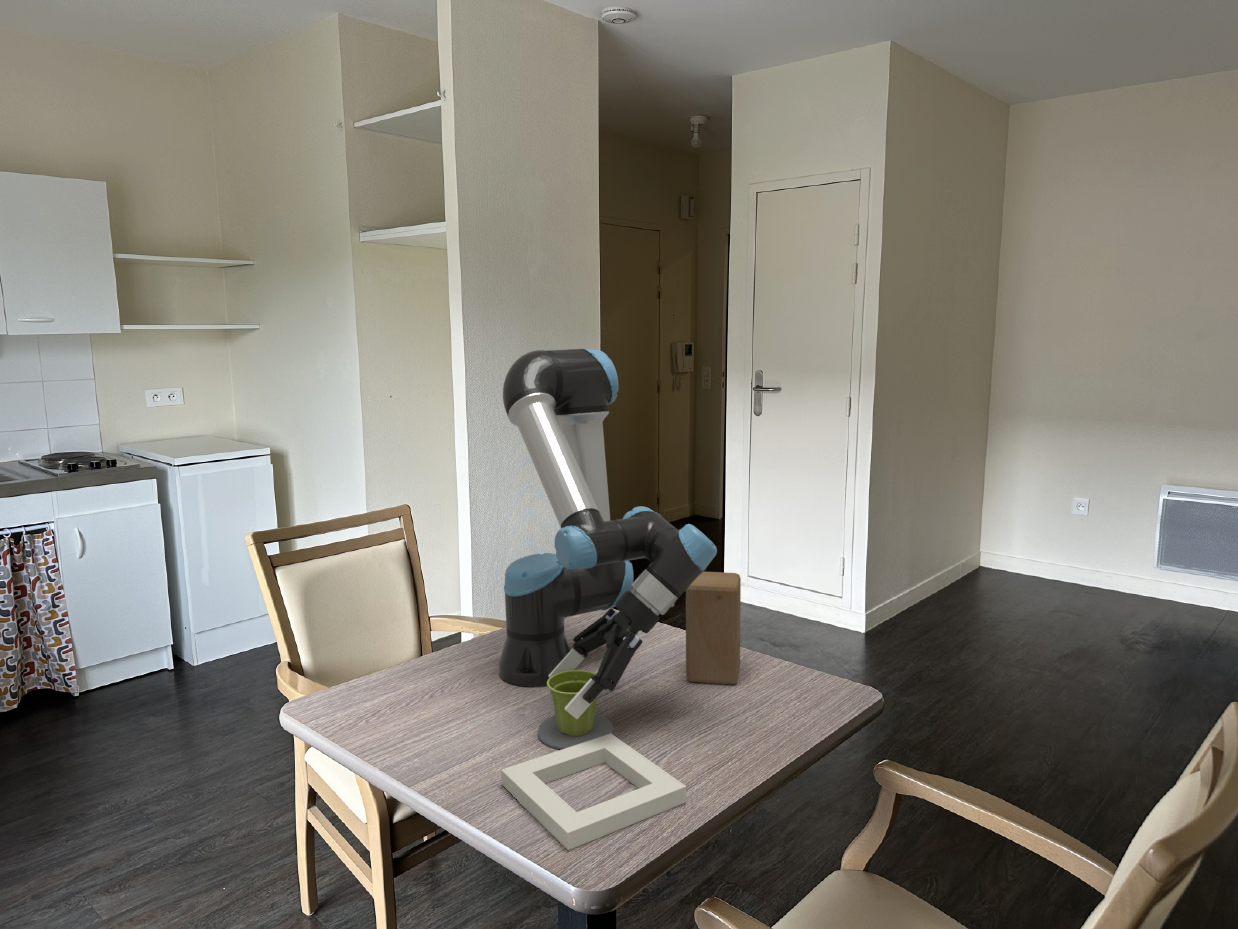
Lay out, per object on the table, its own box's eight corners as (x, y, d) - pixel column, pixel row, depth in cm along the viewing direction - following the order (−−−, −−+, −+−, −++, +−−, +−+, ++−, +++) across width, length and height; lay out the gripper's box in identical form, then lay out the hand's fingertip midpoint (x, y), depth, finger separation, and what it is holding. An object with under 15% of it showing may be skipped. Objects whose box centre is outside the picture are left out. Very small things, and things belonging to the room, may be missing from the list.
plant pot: (609, 737, 142) (608, 688, 141) (554, 745, 140) (553, 696, 138) (595, 713, 151) (594, 667, 150) (543, 720, 148) (542, 674, 147)
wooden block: (737, 686, 163) (737, 586, 159) (685, 683, 165) (685, 584, 161) (740, 666, 172) (740, 571, 169) (691, 663, 174) (691, 569, 171)
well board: (501, 785, 129) (501, 769, 128) (611, 747, 140) (610, 733, 139) (568, 850, 112) (567, 833, 112) (686, 802, 123) (686, 786, 123)
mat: (524, 728, 147) (524, 725, 147) (588, 708, 154) (588, 705, 154) (562, 759, 136) (562, 755, 136) (628, 736, 143) (628, 733, 143)
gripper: (685, 641, 134) (595, 742, 133) (638, 594, 158) (562, 680, 157) (653, 612, 132) (561, 715, 131) (611, 569, 156) (533, 656, 154)
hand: (561, 696), depth 144 cm, fingers open, 13 cm apart
